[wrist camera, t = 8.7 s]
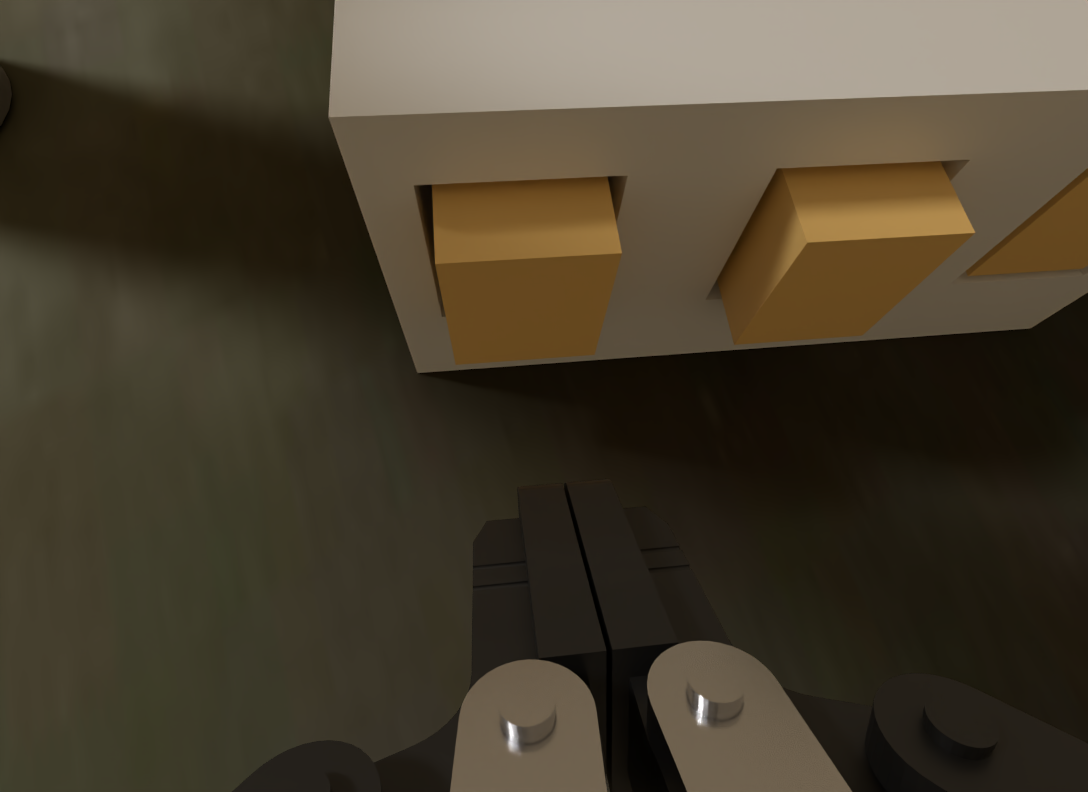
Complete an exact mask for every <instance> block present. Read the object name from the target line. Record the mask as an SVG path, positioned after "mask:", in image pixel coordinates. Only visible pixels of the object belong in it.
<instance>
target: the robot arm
mask: <svg viewBox="0 0 1088 792" xmlns="http://www.w3.org/2000/svg"><path fill="white" fill-rule="evenodd" d="M11 97H12V92H11V85H10V80H9V79H8V77H7V75H6V73H5V71H4V69H3V68H2V67H1V66H0V126H1V124H2V122H3V121H4V119H5V117H6V115H7V113H8V111H9V107H10V102H11ZM518 508H519V518H515V519H504V520H493V521H487V522H486V523H485V525H484V526H483V528H482V530H481V531H480V533H479V534H478V536H477V537H476V539H475V540H474V542H473V608H472V675H471V684H470V687H469V691H468V694H467V695H466V697H465V699H464V702H463V704H462V705H461V707H460V708H459V710H458V711H457V713H456V714H455V715H454V716H453V717H452V719H451V720H450V721H449V722H448V723H447V724H446V725H445V726H443V727H442V728H441V729H440V730H439V731H438V732H436V733H435V734H433V735H432V736H430V737H429V738H427V739H425V740H424V741H422V742H420V743H418V744H416V745H414V746H411V747H409V748H407V749H405V750H402V751H400V752H398V753H395V754H393V755H391V756H388V757H386V758H384V759H382V760H379V761H377V762H375V763H373V762H372V760H371V759H370V757H369V756H368V755H367V754H366V753H364V752H363V751H362V750H361V749H359V748H357V747H355V746H353V745H352V744H348V743H345V742H341V741H330V740H327V741H316V742H311V743H307V744H303V745H300V746H297V747H294V748H292V749H289V750H287V751H285V752H283V753H281V754H279V755H277V756H276V757H274V758H273V759H271V760H269V761H268V762H266V763H265V764H263V765H262V766H261V767H260V768H258V769H257V770H256V771H255V772H254V773H252V774H251V775H250V776H249V777H248V778H247V779H246V780H245V781H243V782H242V783H241V784H240V785H239V786H238V787H237V788H236V789H235V790H234V791H232V792H607V788H606V774H607V779H608V783H609V788H610V792H1088V743H1086V742H1084V741H1082V740H1080V739H1078V738H1076V737H1074V736H1072V735H1069V734H1067V733H1065V732H1063V731H1061V730H1059V729H1057V728H1055V727H1053V726H1051V725H1049V724H1047V723H1045V722H1043V721H1041V720H1039V719H1037V718H1035V717H1033V716H1030V715H1028V714H1026V713H1024V712H1022V711H1020V710H1018V709H1016V708H1014V707H1012V706H1010V705H1008V704H1006V703H1004V702H1002V701H1000V700H998V699H996V698H993V697H991V696H989V695H987V694H985V693H983V692H981V691H979V690H977V689H975V688H973V687H970V686H968V685H966V684H964V683H961V682H958V681H955V680H952V679H949V678H946V677H941V676H937V675H932V674H923V673H909V674H903V675H898V676H895V677H893V678H890V679H889V680H887V681H886V682H884V683H883V684H882V685H881V686H880V688H879V689H878V690H877V693H876V695H875V697H874V702H873V706H867V705H861V704H855V703H849V702H843V701H837V700H831V699H825V698H819V697H813V696H809V695H804V694H800V693H797V692H794V691H791V690H788V689H786V688H783V687H781V685H780V684H779V682H778V681H777V680H776V678H775V677H774V676H773V674H772V673H771V672H770V671H769V670H768V669H767V668H766V667H765V666H764V665H763V664H762V663H761V662H759V661H758V660H757V659H755V658H754V657H753V656H751V655H749V654H747V653H746V652H744V651H742V650H740V649H737V648H735V647H733V646H732V644H731V643H730V641H729V639H728V637H727V635H726V633H725V631H724V629H723V627H722V626H721V624H720V622H719V620H718V618H717V616H716V614H715V612H714V610H713V608H712V607H711V605H710V603H709V601H708V599H707V597H706V595H705V593H704V591H703V590H702V588H701V586H700V584H699V582H698V580H697V578H696V576H695V574H694V572H693V571H692V569H690V567H689V563H688V561H687V559H686V557H685V555H684V554H683V552H682V550H680V548H679V544H678V542H677V540H676V538H675V536H674V535H673V533H672V531H671V529H670V527H669V525H668V524H667V523H666V522H665V521H664V520H662V519H661V518H660V517H658V516H657V515H656V514H654V513H653V512H652V511H651V510H649V509H648V508H647V507H634V508H622V506H621V504H620V501H619V499H618V496H617V494H616V492H615V489H614V487H613V484H612V482H611V480H610V479H602V480H590V481H579V482H567V483H565V484H564V488H563V485H562V483H558V484H546V485H534V486H523V487H518Z"/></svg>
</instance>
